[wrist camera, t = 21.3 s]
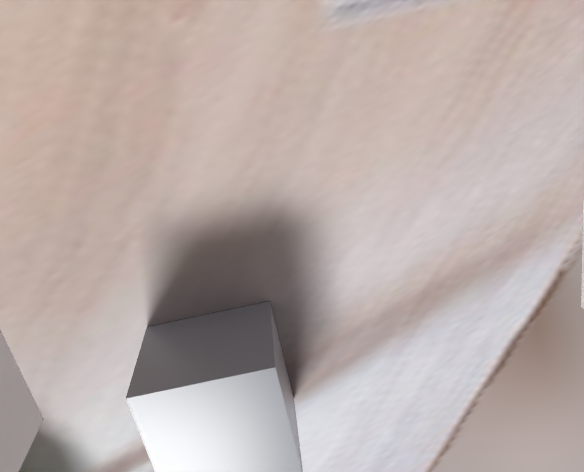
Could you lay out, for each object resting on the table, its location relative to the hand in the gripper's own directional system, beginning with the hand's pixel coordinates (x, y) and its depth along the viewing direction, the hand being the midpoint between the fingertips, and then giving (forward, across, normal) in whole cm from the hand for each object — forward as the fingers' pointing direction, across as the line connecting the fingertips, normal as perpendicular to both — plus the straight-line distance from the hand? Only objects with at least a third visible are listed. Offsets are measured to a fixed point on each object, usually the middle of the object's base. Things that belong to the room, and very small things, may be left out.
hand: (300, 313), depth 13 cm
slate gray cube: (+29, -8, -21) cm, 36 cm away
